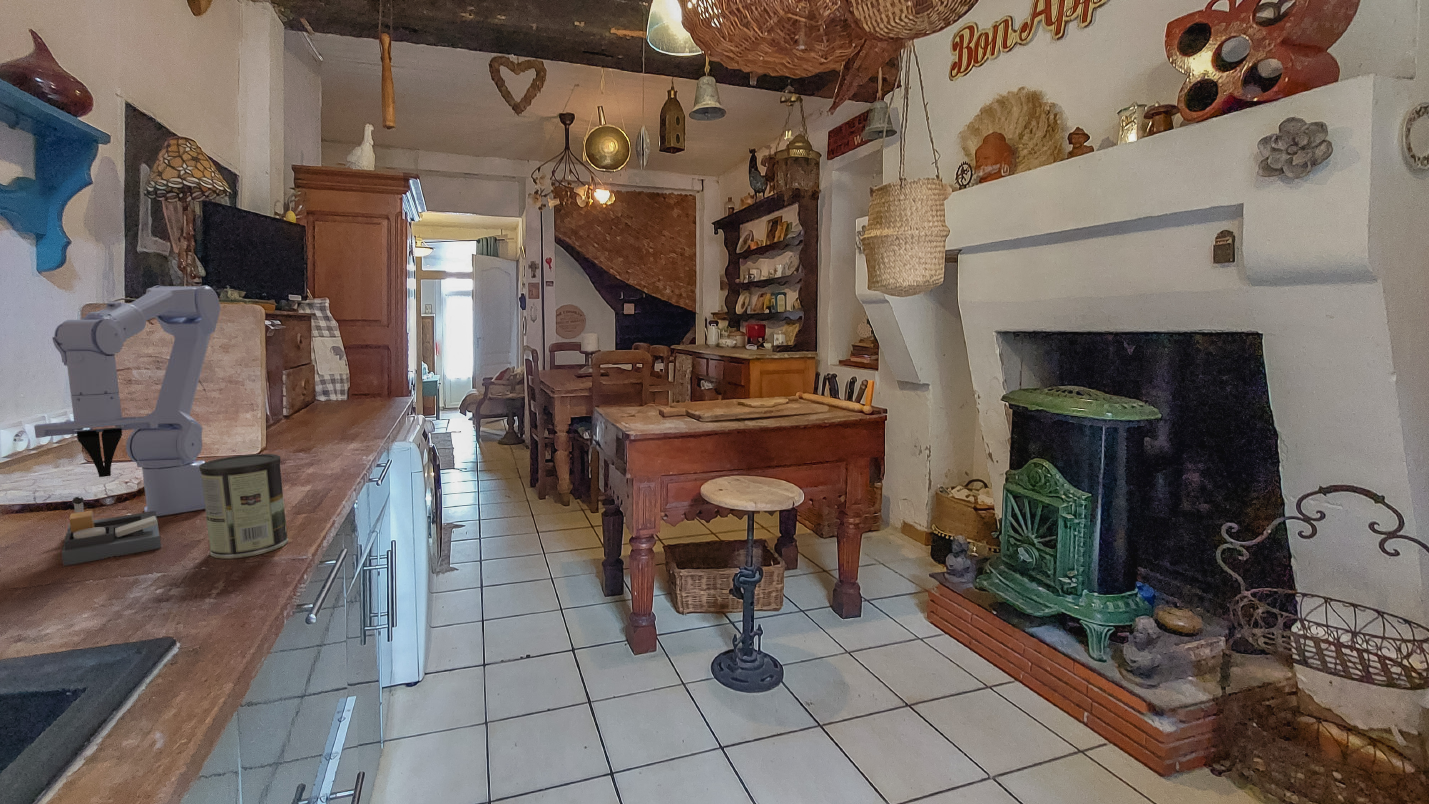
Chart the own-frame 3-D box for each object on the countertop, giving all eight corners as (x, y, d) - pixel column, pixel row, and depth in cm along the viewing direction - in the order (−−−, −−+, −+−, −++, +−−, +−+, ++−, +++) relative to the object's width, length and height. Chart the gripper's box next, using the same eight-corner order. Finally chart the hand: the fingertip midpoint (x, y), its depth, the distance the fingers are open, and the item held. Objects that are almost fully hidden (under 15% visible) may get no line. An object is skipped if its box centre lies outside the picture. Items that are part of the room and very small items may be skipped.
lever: (86, 518, 109) (83, 496, 109) (85, 517, 108) (83, 495, 108) (74, 520, 108) (72, 498, 108) (73, 519, 107) (71, 497, 107)
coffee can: (258, 533, 110) (250, 451, 108) (303, 540, 107) (295, 456, 105) (192, 554, 100) (182, 465, 98) (239, 562, 97) (230, 470, 95)
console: (156, 521, 116) (154, 503, 116) (161, 548, 103) (158, 527, 103) (70, 535, 109) (68, 516, 109) (63, 566, 96) (60, 544, 95)
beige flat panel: (156, 519, 107) (154, 515, 107) (157, 524, 105) (155, 519, 104) (117, 532, 104) (115, 528, 103) (117, 537, 101) (115, 532, 101)
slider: (94, 528, 107) (92, 510, 106) (93, 534, 104) (91, 516, 103) (73, 531, 105) (70, 513, 105) (71, 537, 102) (69, 519, 102)
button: (106, 534, 103) (105, 525, 103) (106, 540, 100) (105, 531, 100) (75, 539, 101) (73, 530, 100) (73, 545, 98) (72, 536, 98)
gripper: (28, 399, 98) (39, 487, 100) (154, 392, 108) (163, 472, 109) (33, 395, 103) (43, 479, 105) (153, 389, 113) (161, 466, 114)
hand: (105, 475), depth 107 cm, fingers closed
